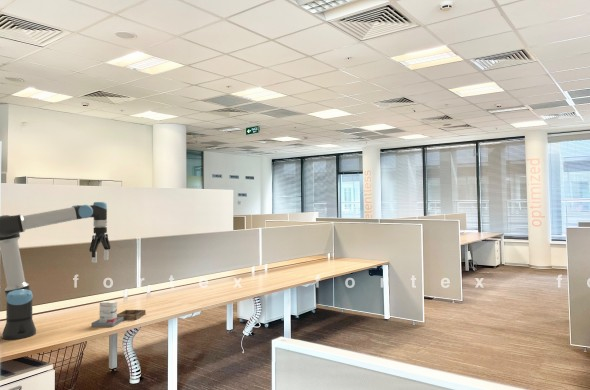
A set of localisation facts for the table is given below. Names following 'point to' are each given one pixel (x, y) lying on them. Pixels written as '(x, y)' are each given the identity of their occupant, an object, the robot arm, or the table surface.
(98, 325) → the tray
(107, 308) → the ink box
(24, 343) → the table surface
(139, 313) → the brown wooden box
